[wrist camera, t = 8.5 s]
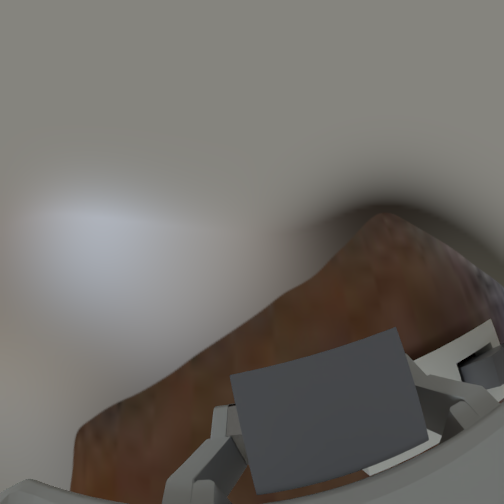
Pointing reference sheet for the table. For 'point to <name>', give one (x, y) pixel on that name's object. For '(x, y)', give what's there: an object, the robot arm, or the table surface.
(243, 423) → the plug
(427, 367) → the power strip
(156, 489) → the table surface
